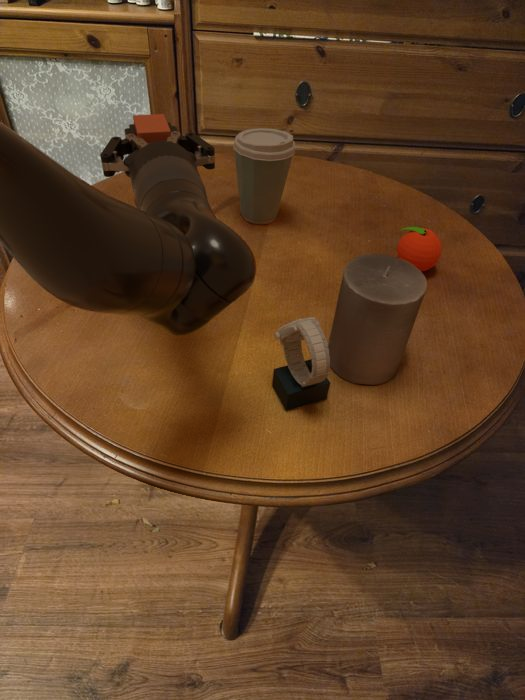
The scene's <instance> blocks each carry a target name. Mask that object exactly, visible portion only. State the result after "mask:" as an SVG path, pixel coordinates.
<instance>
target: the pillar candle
mask: <svg viewBox="0 0 525 700" xmlns="http://www.w3.org/2000/svg"><path fill="white" fill-rule="evenodd" d="M343 269H344V270H343V273H342V278H341V283H340V287H339V291H338V296H337V301H336V307H335V312H334V314H333V315H334V316H333V321H332V325H331V330H330V335H329V339H328V343H327V344H328V349H329V356H330V367H329V368H331V370H332V371H333V372H334V373H335V374H336V375H337V376H338V377H340V378H341V379H344V381H347V382H349V383H353V384H359V385H360V384H361V385H369V386H370V385H372V386H376V385H382V384H385V383H387V382H388V381H390V380H392V379H393V377H394V376H395V375H396V374H397V372H398V370H399V367H400V365H401V363H402V360H403V357H404V354H405V352H406V348H407V347H408V343H409V340H410V337H411V334H412V331H413V329H414V325H415V323H416V319H417V317H418V314H419V311H420V309H421V306H422V303H423V301H424V299H425V295H426V292H427V288H428V283H427V282H428V281H427V278H426V276H425V275H424V273H423V271H420V270H419V269H418V268H416V267H415V266H414V265H413V264H411V263H409V262H408V261H405V260H403V259H400V258H398V256H394V255H389V254H381V253H367V254H362V255H358V256H356V257H353V258H352V259H350V260H349V261H348V263H346V265H345V267H344V268H343Z"/></svg>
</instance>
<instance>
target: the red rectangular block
mask: <svg viewBox="0 0 525 700" xmlns="http://www.w3.org/2000/svg"><path fill="white" fill-rule="evenodd" d="M132 119H133V124H134V126H135V129H136V133H137V137H138V138H139V137H142V138H143V139H144V140H145V141H146V142H147V143H148V144H149V143H152V142H156V141H167V138H168V136H171V131H170V128H169V126H168V123H167V122H168V121H167V118H166V116H165V113H152V114H151V113H150V114H133V115H132Z"/></svg>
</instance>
